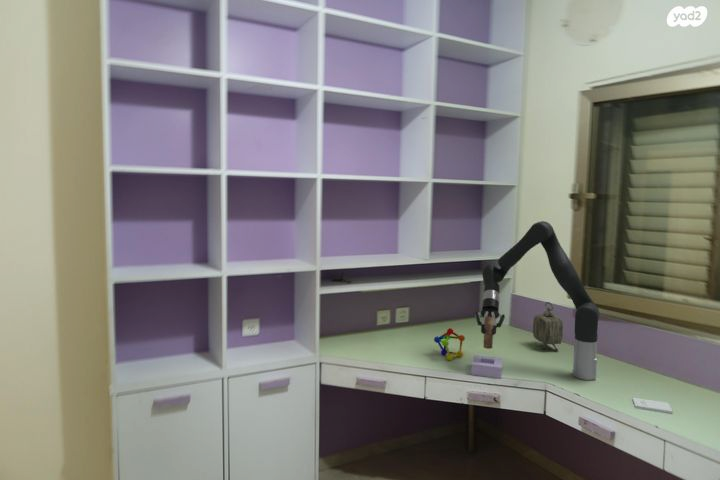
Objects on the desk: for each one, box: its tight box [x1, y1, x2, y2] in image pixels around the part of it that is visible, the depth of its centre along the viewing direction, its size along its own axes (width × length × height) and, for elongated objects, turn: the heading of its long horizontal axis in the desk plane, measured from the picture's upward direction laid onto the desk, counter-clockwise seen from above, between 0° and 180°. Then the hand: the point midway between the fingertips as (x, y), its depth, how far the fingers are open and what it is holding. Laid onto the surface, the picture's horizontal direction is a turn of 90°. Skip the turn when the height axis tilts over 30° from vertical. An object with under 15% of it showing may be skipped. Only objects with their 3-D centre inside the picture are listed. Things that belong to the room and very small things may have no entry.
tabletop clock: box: [532, 301, 564, 352], centre depth 256 cm, size 14×9×25 cm, turn 9°
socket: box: [470, 354, 503, 379], centre depth 223 cm, size 13×13×5 cm
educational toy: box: [433, 327, 466, 361], centre depth 242 cm, size 16×13×15 cm
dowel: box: [483, 316, 494, 350], centre depth 221 cm, size 4×4×14 cm
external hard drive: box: [631, 397, 673, 415], centre depth 189 cm, size 2×8×12 cm
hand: (488, 333), depth 219 cm, fingers closed on dowel, 4 cm apart
